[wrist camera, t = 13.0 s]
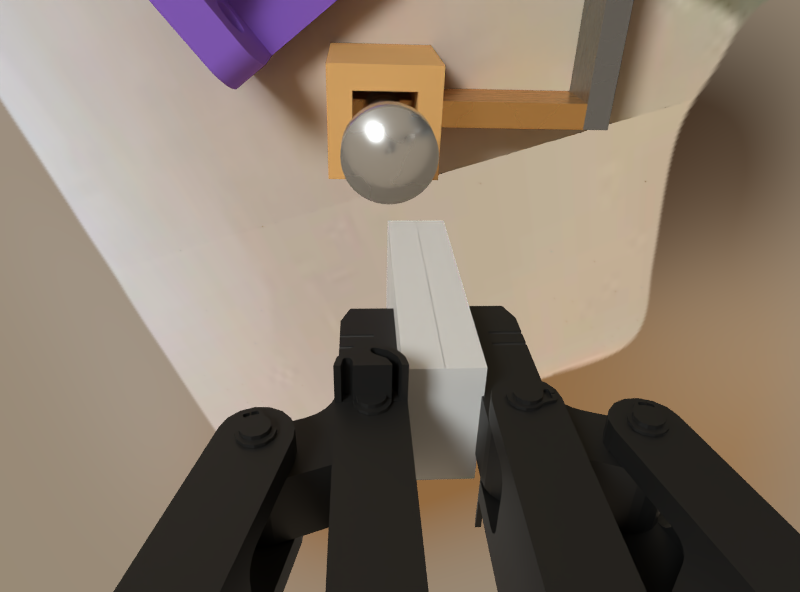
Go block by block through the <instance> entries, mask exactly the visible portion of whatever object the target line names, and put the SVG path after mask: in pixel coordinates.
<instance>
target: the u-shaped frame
mask: <svg viewBox="0 0 800 592" xmlns="http://www.w3.org/2000/svg"><path fill="white" fill-rule="evenodd" d="M633 1H634V0H585V2H584V8H583V14H582V20H581V26H580V32H579V38H578V44H577V50H576V56H575V62H574V68H573V74H572V80H571V86H570V91H533V90H487V89H444V94H443V109H442V124H441V127H454V128H512V129H570V130H608V125H609V120H610V115H611V110H612V105H613V100H614V95H615V90H616V85H617V80H618V75H619V70H620V66H621V61H622V56H623V51H624V46H625V41H626V36H627V31H628V26H629V21H630V16H631V11H632V6H633ZM371 92H373V91H353V117H354V115H356V114H357V113H358V112H359V111H360V110H362V109H363V105H364V101H365V99H366V97H367V96H368V95H369V94H370V93H371ZM392 92H393V93H394V94H396V96H397V97H398V98H399V100H400V103H404V104H406V105H409V106H411V107H412V99H411V96H410V93H409V92H399V91H392Z"/></svg>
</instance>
